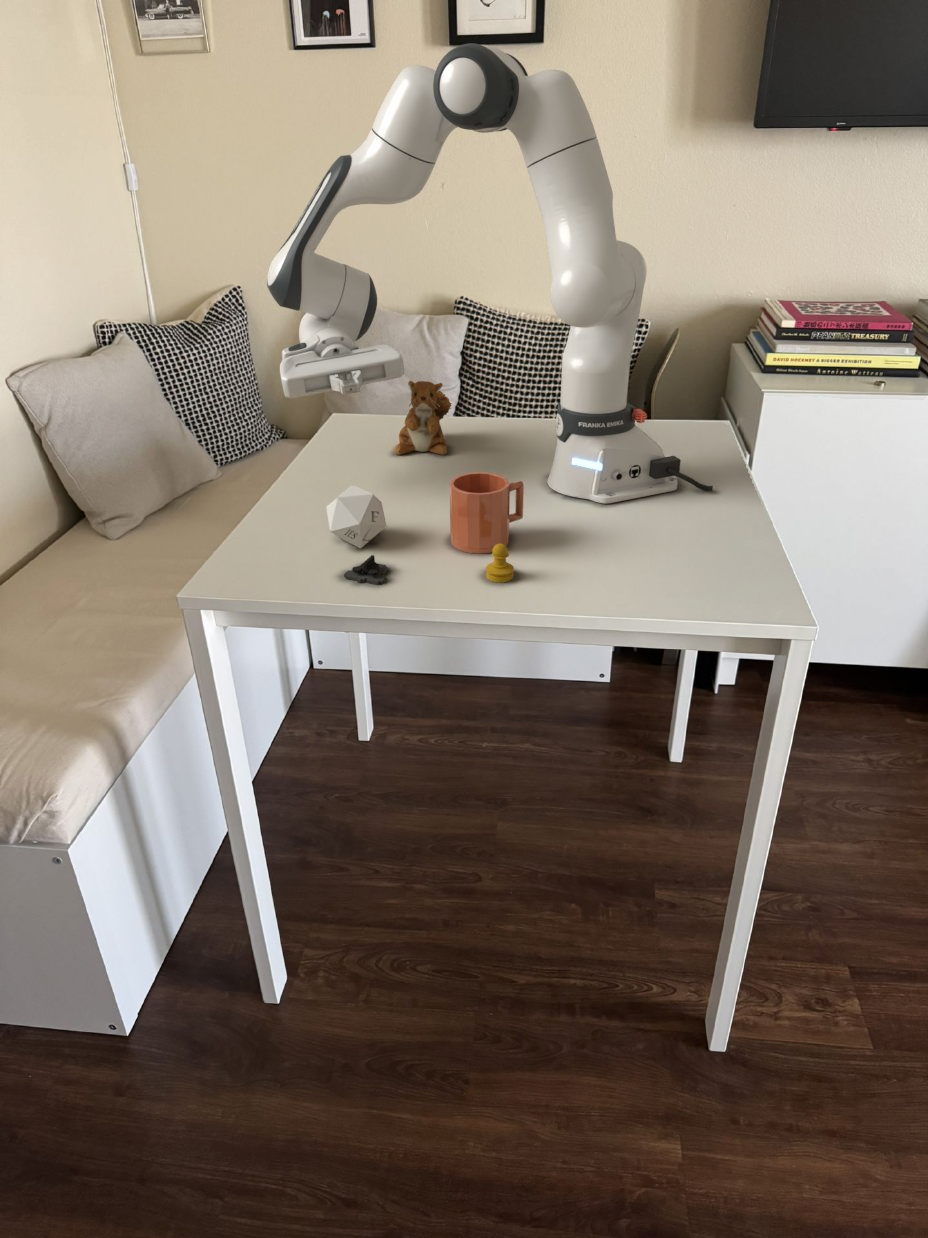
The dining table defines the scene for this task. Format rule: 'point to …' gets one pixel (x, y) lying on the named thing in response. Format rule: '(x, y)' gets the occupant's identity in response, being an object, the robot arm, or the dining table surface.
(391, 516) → the dining table surface
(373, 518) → the die
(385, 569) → the block figure
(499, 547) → the chess piece
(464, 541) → the mug
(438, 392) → the stuffed squirrel
